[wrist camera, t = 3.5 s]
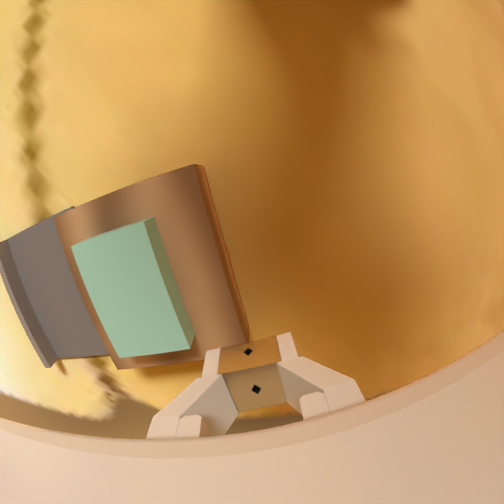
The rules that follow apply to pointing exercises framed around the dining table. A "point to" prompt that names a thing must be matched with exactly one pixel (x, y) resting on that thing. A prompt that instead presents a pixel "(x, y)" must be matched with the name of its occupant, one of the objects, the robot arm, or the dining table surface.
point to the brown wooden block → (169, 257)
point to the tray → (47, 294)
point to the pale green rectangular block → (134, 290)
